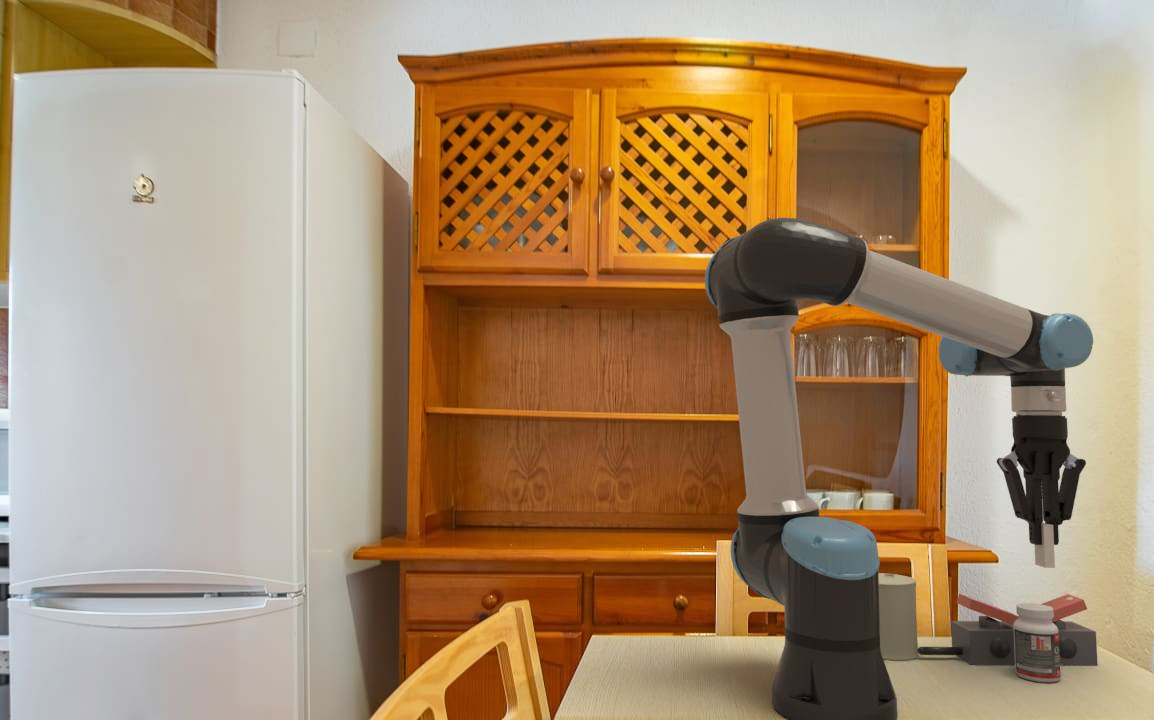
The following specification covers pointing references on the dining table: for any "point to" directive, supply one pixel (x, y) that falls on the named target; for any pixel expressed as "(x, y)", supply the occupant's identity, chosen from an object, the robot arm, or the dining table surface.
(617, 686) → the dining table surface
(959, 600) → the rocker
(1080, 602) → the rocker
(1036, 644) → the pill bottle
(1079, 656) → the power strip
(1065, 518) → the robot arm
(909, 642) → the can
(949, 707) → the dining table surface
